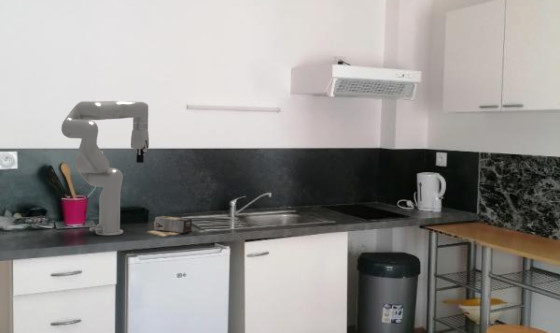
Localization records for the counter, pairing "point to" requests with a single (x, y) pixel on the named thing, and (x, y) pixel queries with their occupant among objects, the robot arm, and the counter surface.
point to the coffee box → (173, 224)
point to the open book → (163, 233)
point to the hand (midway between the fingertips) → (140, 162)
